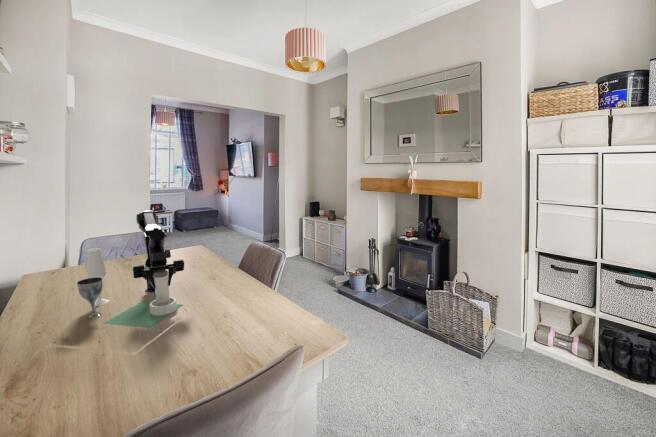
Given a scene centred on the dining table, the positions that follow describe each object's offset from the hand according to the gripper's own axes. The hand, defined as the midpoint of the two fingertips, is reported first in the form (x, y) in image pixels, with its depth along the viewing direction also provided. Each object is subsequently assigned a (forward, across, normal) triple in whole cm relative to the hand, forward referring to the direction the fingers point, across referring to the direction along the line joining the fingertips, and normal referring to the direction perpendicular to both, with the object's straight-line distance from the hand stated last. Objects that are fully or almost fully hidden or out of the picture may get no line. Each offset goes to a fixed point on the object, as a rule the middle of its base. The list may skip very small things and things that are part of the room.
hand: (162, 286), depth 129 cm
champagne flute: (-10, -22, +26) cm, 36 cm away
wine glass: (0, -24, +16) cm, 28 cm away
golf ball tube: (+4, 0, +5) cm, 6 cm away
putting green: (+7, -6, +9) cm, 13 cm away
